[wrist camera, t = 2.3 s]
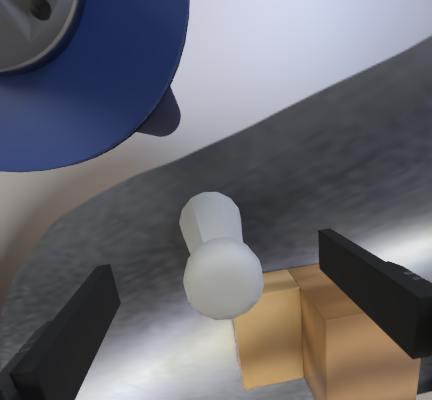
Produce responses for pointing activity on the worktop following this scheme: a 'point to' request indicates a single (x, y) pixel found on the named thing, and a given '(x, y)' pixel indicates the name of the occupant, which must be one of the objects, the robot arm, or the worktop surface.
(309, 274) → the stepped wooden block
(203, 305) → the salt shaker
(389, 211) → the worktop surface
